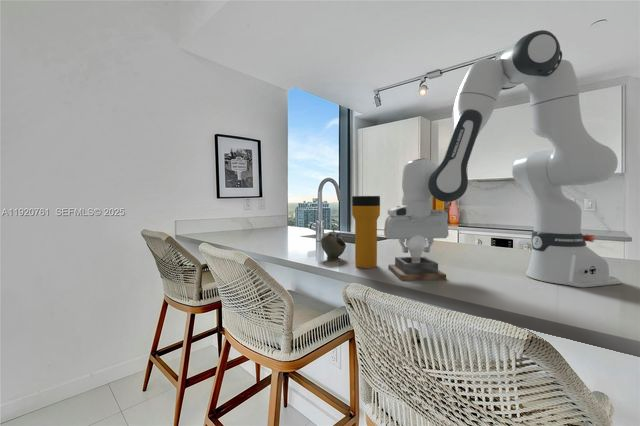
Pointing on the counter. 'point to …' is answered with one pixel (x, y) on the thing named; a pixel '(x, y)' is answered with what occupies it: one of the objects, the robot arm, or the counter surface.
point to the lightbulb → (416, 247)
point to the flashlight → (366, 229)
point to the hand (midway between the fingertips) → (415, 252)
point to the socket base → (416, 269)
